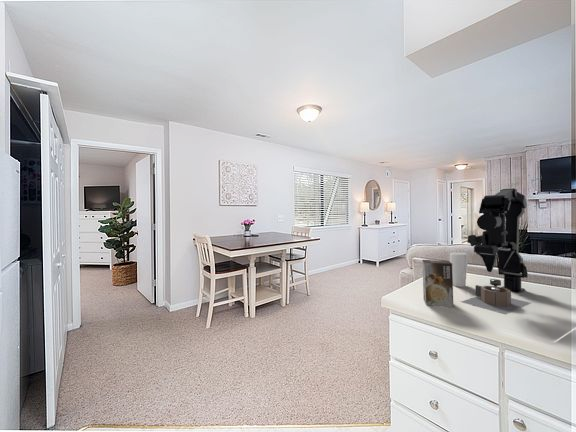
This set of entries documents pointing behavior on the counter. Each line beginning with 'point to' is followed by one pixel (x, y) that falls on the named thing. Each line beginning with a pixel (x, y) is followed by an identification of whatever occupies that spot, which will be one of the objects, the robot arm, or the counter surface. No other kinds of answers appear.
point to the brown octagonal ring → (494, 295)
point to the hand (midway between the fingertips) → (495, 270)
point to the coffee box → (437, 283)
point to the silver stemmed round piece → (495, 284)
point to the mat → (500, 309)
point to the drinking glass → (459, 268)
